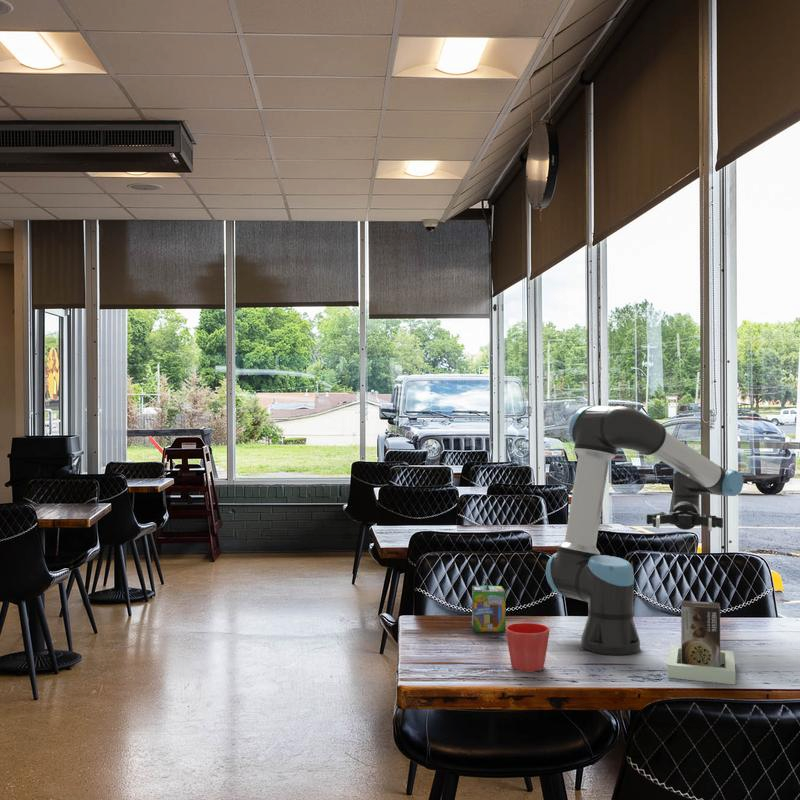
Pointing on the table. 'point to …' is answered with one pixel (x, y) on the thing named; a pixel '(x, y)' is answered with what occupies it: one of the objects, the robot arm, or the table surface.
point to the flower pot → (527, 645)
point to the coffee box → (700, 633)
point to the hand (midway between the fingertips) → (683, 524)
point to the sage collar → (701, 668)
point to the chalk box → (488, 608)
